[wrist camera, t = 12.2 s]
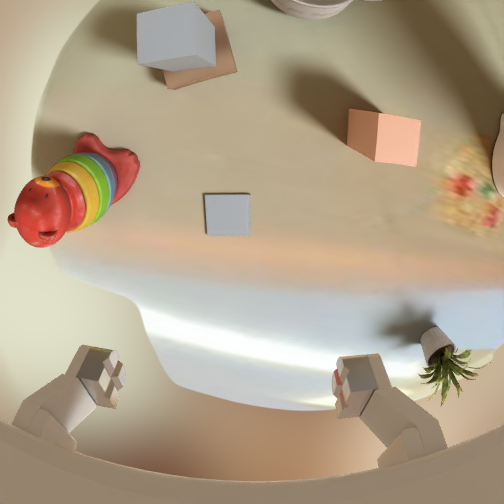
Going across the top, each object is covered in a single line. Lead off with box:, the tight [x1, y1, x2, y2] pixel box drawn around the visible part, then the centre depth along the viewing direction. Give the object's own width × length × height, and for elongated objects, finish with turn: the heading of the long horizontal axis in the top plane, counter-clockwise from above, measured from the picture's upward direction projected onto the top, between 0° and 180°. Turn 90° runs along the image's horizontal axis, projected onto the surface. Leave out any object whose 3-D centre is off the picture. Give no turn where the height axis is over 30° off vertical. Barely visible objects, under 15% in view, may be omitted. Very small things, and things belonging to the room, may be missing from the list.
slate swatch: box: [205, 194, 250, 236], centre depth 40 cm, size 6×6×1 cm
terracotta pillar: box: [347, 109, 421, 166], centre depth 30 cm, size 5×5×10 cm
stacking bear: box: [8, 133, 140, 247], centre depth 29 cm, size 11×10×18 cm
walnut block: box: [162, 10, 237, 90], centre depth 28 cm, size 8×8×4 cm
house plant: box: [419, 327, 491, 405], centre depth 45 cm, size 14×14×16 cm
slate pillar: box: [137, 2, 216, 71], centre depth 22 cm, size 5×5×10 cm
